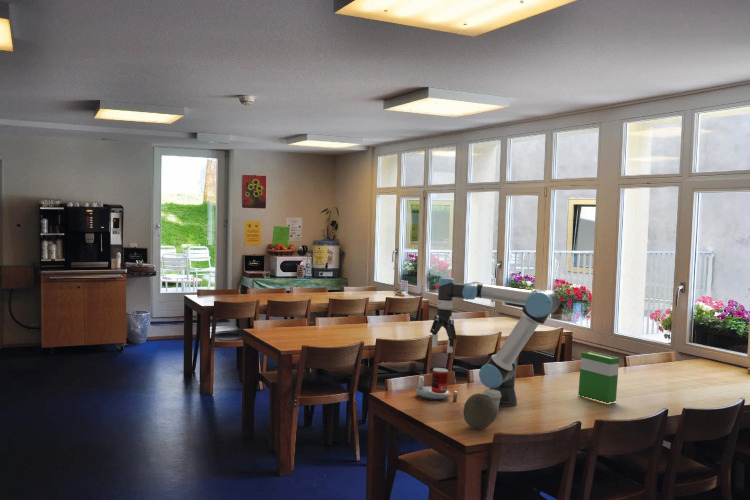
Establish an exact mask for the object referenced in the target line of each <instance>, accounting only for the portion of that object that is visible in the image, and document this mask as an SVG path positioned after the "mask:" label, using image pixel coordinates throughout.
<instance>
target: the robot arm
mask: <svg viewBox="0 0 750 500" xmlns="http://www.w3.org/2000/svg"><path fill="white" fill-rule="evenodd" d="M454 279H455V278H452V277H440V278H439V280H438V287H437V288H438V290H437V291H438V293H437V309H436V315H434V318H433V319H434V320H433V323H432V324H431V327H430V330H429V332H430V333H431V334H432V342H431V343H432V345H431V348H438V341H439V334H438V333H439V331H441V329H442V328H444V329H445V332H446V335H447V337H448V339H447V348H446V349H447V350H446V353H447V354H451V353H452V354H453V351H454V349H453V347H454V341H455V340H457V333H456V329H455V323H454V322H455V320H454V319H451V317H452V315H453V302H454V301H453V300H454V299H464V300H467V301H468V300H471V301H472V300H475V299H476V298H477V299H485V300H491V301H497V302H503V303H509V304H514V305H521V306H523V307H522V309H521V313H522V315H521V317H520V318H519V320H518V321H517V323H516V324H515V326H514V328H513V329H512V330H511V332H510V334H509V335H508V336H507V337H506V339H505V341H504V342H503V344H502V345H501V347H500V348H499V350H498V351H497V353H495V354H492V355H491V356H490V358H489V359H488V361H487V362H486V364H484V365H482V366H481V368H480V369H479V371H478V377H479V381H480V382H481V384H482V385H483V386H484V387H487V389H493V390H498V391H500V393H501V397H500V403H499V407H500V406H501V407H513V406H516V405H517V404H518V398H517V394H516V390H515V387H516V386H515V383H516V374H517V373H516V370H517V360H516V359H517V357H518V356H519V355H520V353H521V352H522V350H523V348H524V347H525V346H526V344H527V343H528V341H529V339H530V338H531V337H532V335H534V332H535V331H536V329H538V326H539V325H544V323H546V321H547V320H548V318H549V316H550V315H551V314H554V313H555V312H557V310H558V309H559V307H560V304H561V303H560V302H561V301H560V297H559V296H558V294H557V293H556V292H555V291H553V290H551V289H537V288H536V289H535V288H534V289H532V290H530V289H529V290H528V289H521V288H515V287H508V286H503V285H502V286H501V285H494V284H489V283H481V282H478V281H473V282H469V283H459V282H455V280H454Z"/></svg>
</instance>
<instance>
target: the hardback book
mask: <svg viewBox="0 0 750 500" xmlns="http://www.w3.org/2000/svg"><path fill="white" fill-rule="evenodd" d="M619 364H620V357H617V356H613V355H610V354H604V353H600V352H599V353H598V352H597V351H596V352H594V351H592V350H588V352H584V351H581V355H580V366H579V367H580V369H579V381H578V382H579V383H578V392H577V393H578V395H580V396H584V397H588V398H592V399H596V400H599V401H603V402H606V403H609V402H614V401H617V391H618V389H617V388H618V381H619V380H618V379H619ZM578 395H577V396H578Z"/></svg>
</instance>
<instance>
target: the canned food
mask: <svg viewBox="0 0 750 500" xmlns="http://www.w3.org/2000/svg"><path fill="white" fill-rule="evenodd" d="M431 376H432V377H431V387H432V388H431V389H432V391H433V392H435V393H445V392H446V391H447V390H448V379H449V377H448V376H449V370H448V369H447V368H444V367H434V368H433V369H432V374H431Z"/></svg>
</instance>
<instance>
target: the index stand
mask: <svg viewBox="0 0 750 500" xmlns="http://www.w3.org/2000/svg"><path fill="white" fill-rule="evenodd" d="M452 394H453V397H452V398H453V399H452V402H453V403H457V402H458V401H457V400H458V391H456V390H454V391H453V393H452ZM422 398H423V399H424V400H427V401H432V402H436V401H439V402H440V401H442V400H443V399H433V398H426V397H422Z"/></svg>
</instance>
